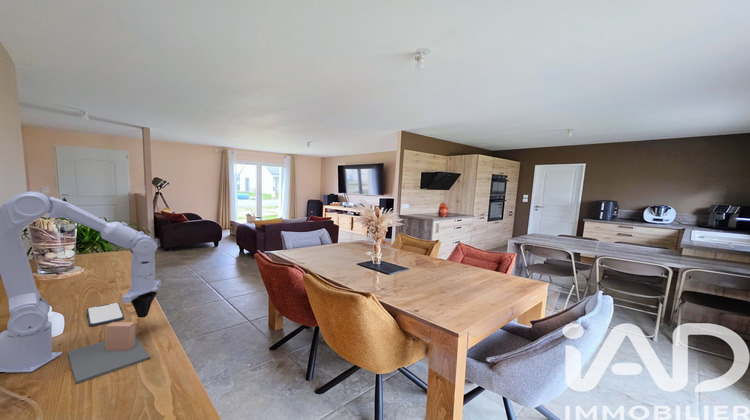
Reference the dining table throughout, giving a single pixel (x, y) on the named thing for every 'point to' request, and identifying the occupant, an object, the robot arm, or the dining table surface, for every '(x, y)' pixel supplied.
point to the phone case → (104, 314)
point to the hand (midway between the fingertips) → (142, 316)
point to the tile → (120, 336)
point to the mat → (103, 360)
